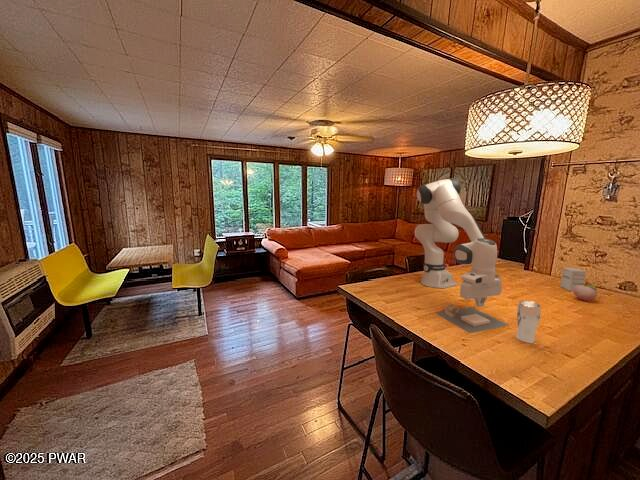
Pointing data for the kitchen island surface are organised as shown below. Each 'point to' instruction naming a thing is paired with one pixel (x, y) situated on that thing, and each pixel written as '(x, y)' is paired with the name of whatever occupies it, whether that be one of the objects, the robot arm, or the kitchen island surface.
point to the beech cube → (451, 310)
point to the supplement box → (572, 278)
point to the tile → (475, 320)
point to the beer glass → (527, 321)
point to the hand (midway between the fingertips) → (479, 306)
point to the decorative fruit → (585, 291)
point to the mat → (470, 329)
